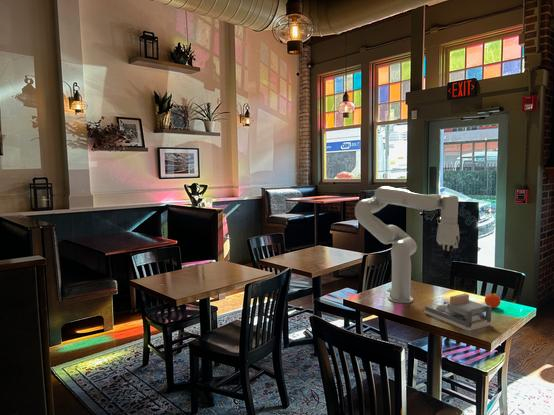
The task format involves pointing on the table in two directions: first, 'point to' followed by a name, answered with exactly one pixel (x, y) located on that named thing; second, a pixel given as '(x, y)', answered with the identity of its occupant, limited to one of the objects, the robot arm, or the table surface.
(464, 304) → the slab
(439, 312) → the roller track
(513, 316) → the table surface
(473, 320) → the loose roller
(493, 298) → the clementine
